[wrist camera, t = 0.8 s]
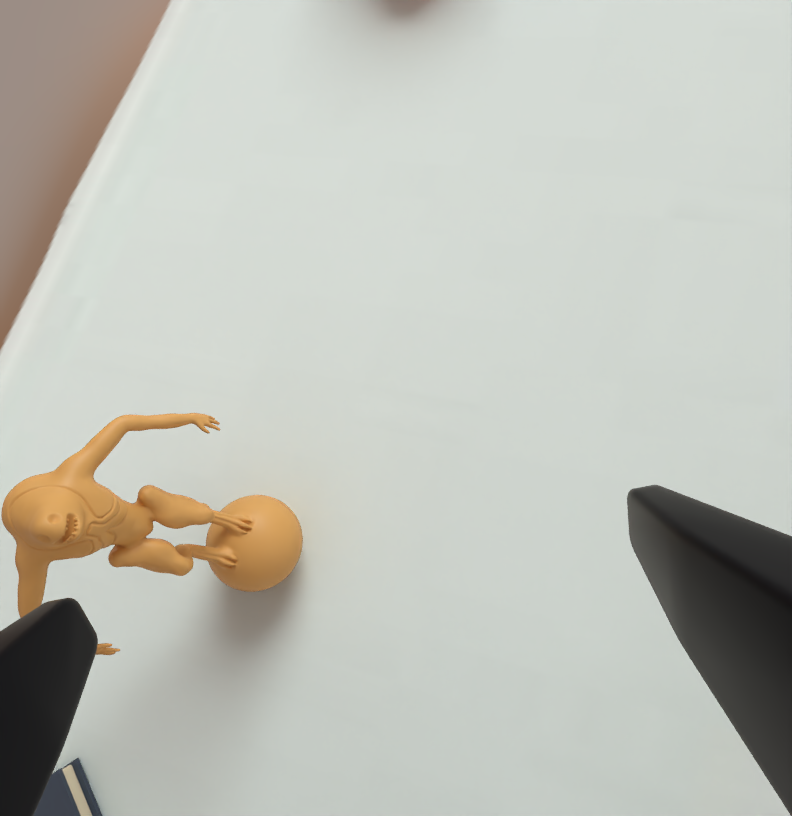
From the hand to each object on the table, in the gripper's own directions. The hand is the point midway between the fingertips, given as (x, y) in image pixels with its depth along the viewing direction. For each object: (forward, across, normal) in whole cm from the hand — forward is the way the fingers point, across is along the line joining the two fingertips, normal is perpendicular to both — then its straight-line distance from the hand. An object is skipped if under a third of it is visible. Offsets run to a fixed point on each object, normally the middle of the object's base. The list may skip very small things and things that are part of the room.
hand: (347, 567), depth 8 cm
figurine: (+14, +8, +8) cm, 18 cm away
